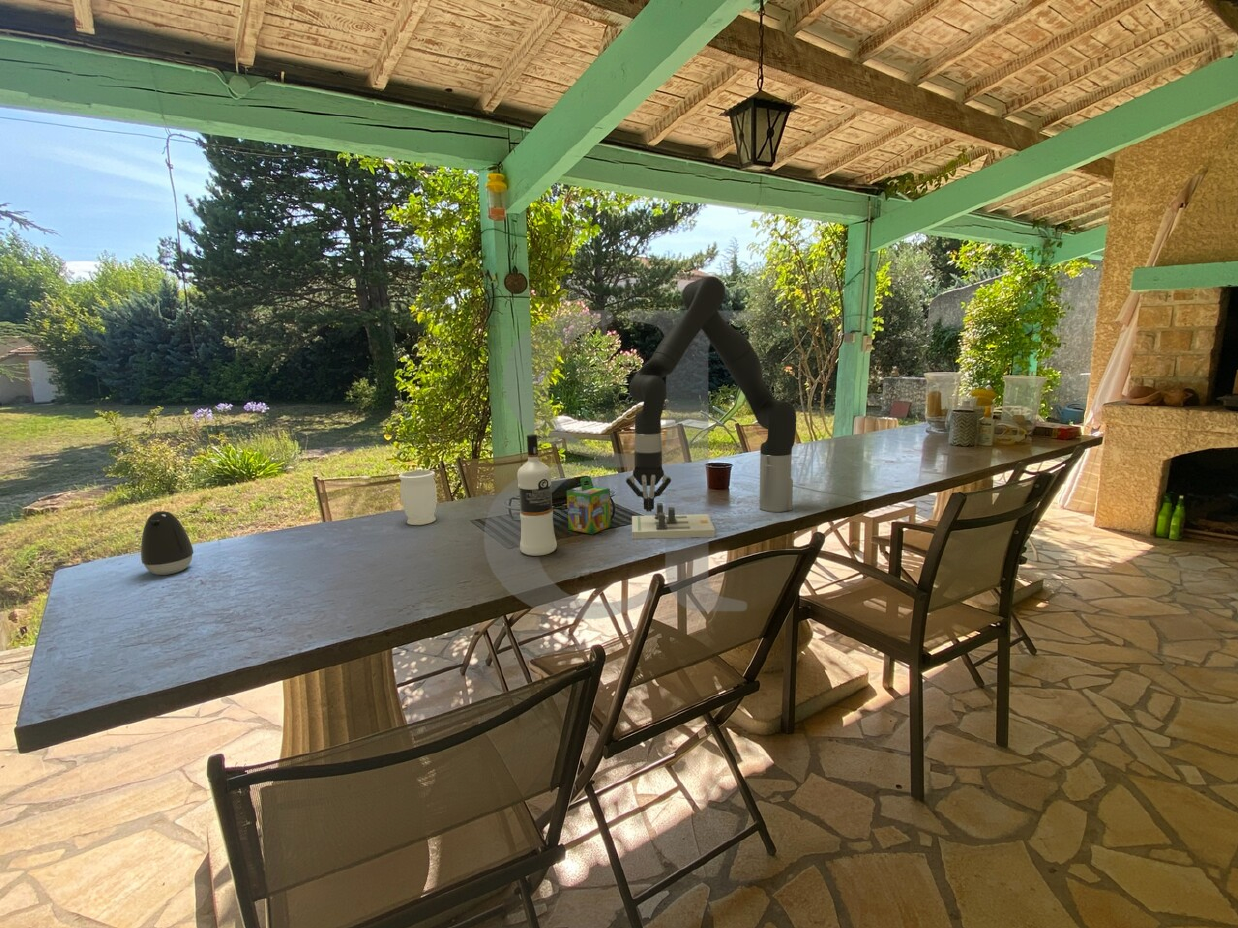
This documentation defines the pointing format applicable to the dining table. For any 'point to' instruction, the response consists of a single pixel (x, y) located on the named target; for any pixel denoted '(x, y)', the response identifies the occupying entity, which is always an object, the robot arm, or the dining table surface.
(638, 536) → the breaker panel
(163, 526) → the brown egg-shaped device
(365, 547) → the dining table surface
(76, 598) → the dining table surface
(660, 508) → the handle
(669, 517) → the handle
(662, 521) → the handle
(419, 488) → the jar
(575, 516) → the chalk box
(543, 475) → the vodka
